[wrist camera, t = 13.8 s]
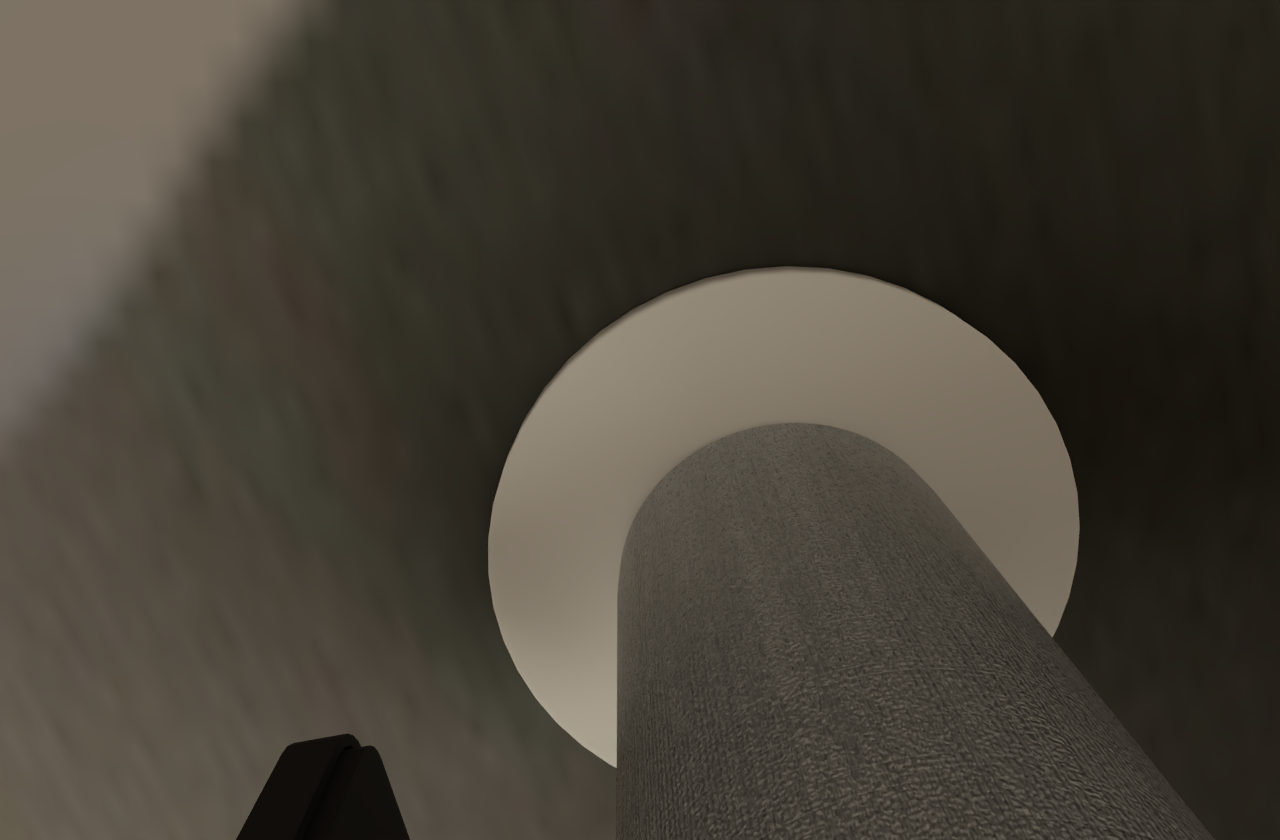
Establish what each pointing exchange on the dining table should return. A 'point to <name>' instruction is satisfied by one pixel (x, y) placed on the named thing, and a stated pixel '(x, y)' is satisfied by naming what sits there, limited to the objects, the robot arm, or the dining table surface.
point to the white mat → (747, 398)
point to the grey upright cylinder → (849, 667)
